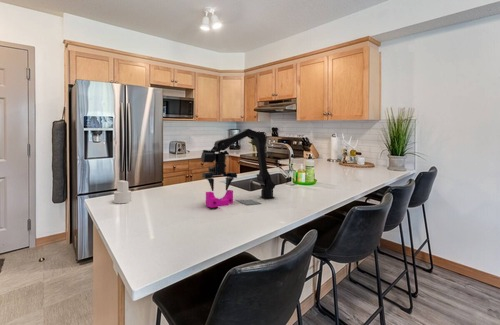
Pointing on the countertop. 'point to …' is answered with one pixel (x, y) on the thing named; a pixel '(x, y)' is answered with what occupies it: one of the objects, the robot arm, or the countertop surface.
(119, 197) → the cylinder with rectangular tab
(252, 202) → the mat
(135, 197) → the countertop surface
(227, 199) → the magenta arched bracket
